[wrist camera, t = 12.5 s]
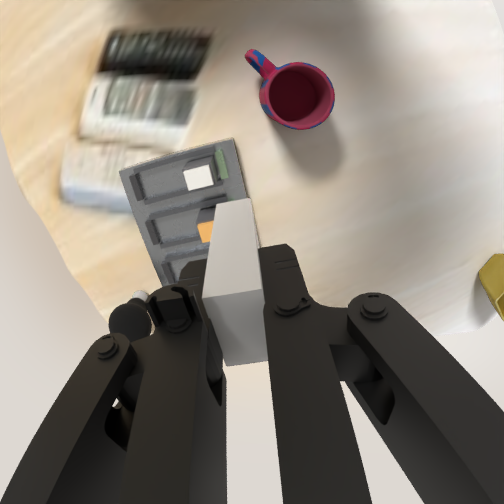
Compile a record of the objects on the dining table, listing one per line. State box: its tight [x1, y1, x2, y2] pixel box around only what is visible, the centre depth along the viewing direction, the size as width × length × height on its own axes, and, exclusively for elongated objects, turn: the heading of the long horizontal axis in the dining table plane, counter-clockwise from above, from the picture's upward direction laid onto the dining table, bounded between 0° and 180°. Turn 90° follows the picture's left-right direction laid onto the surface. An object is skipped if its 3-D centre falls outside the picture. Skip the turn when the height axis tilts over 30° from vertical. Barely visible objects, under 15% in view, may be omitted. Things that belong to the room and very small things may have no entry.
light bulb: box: [109, 291, 152, 342], centre depth 39 cm, size 6×6×10 cm
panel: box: [119, 138, 247, 286], centre depth 37 cm, size 17×14×2 cm
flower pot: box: [479, 254, 504, 321], centre depth 41 cm, size 9×9×9 cm
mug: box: [245, 49, 335, 130], centre depth 27 cm, size 7×10×7 cm
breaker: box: [182, 156, 218, 191], centre depth 31 cm, size 2×3×4 cm
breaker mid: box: [196, 207, 216, 243], centre depth 34 cm, size 2×3×4 cm
